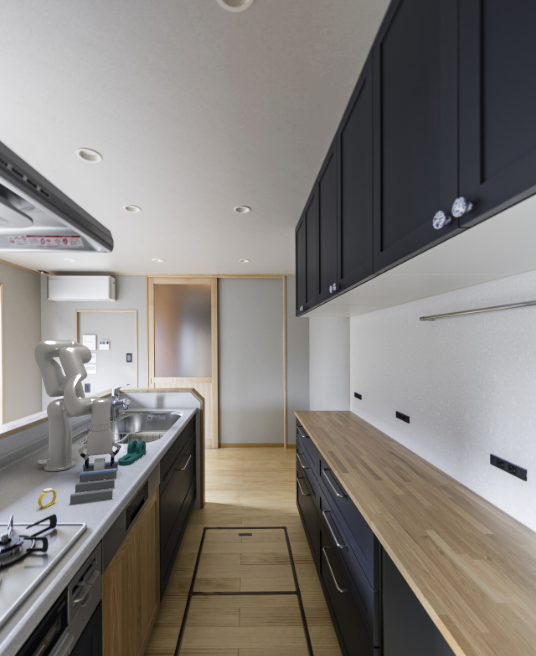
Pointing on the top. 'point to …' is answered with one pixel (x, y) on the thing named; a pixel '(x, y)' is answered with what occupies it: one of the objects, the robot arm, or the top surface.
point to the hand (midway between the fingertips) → (99, 466)
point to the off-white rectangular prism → (99, 463)
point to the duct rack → (95, 484)
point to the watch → (44, 494)
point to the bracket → (133, 452)
